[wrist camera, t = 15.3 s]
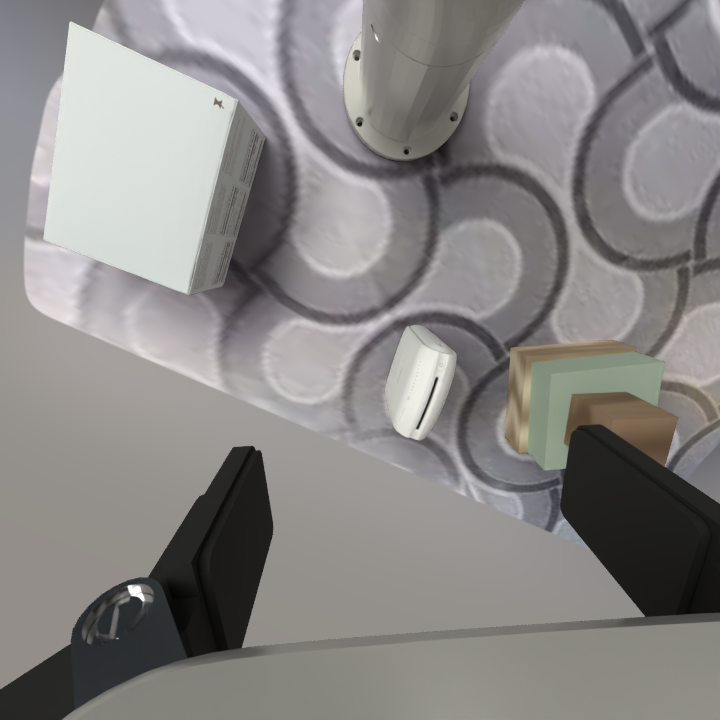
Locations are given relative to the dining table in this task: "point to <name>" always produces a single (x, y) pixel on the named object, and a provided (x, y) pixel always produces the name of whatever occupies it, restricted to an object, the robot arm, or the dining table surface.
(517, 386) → the maple base block
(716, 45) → the dining table surface
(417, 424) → the photo printer
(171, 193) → the supplement box
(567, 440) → the walnut cube
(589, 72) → the dining table surface
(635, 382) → the sage top block
